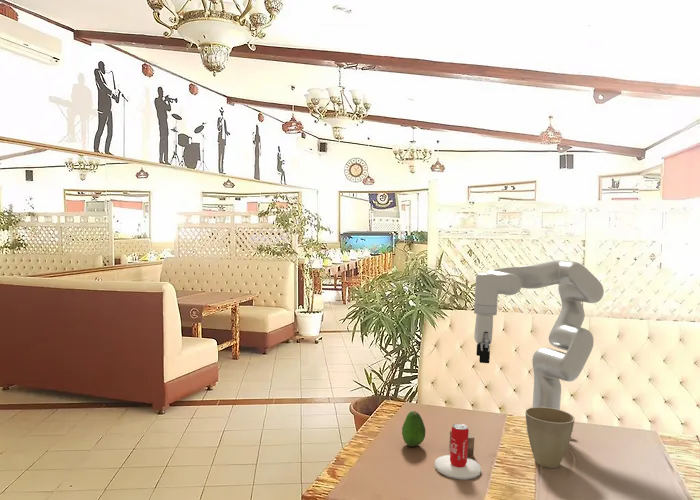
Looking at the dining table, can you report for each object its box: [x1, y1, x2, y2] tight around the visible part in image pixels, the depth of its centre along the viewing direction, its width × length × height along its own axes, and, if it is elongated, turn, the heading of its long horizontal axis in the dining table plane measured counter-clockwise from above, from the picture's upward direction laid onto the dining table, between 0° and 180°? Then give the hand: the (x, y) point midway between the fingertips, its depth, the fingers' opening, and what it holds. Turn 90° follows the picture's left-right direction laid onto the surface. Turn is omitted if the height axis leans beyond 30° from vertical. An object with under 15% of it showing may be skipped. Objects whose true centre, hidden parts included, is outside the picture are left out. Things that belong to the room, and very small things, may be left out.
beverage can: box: [449, 423, 470, 468], centre depth 165 cm, size 5×5×12 cm
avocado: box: [401, 410, 426, 447], centre depth 181 cm, size 8×8×12 cm
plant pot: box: [524, 406, 576, 469], centre depth 172 cm, size 15×15×16 cm
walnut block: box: [448, 431, 475, 457], centre depth 178 cm, size 6×6×6 cm
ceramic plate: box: [434, 454, 482, 481], centre depth 165 cm, size 14×14×1 cm
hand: (482, 359), depth 181 cm, fingers open, 9 cm apart
